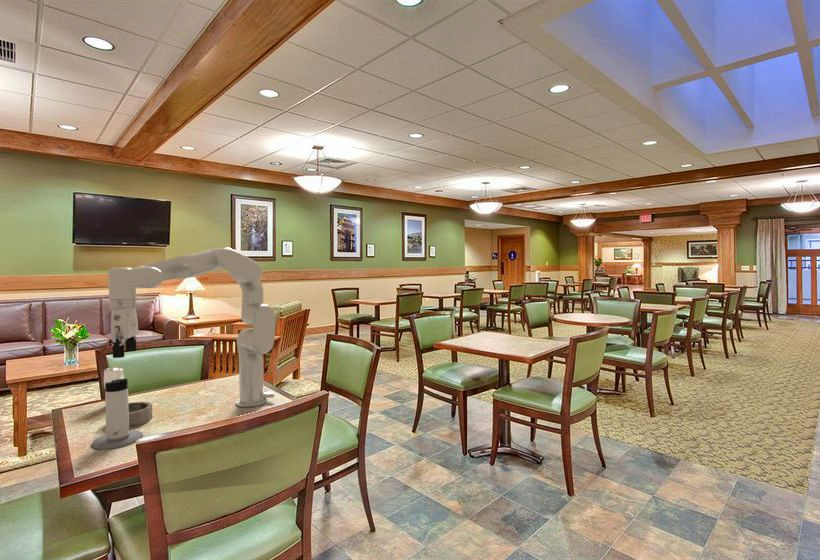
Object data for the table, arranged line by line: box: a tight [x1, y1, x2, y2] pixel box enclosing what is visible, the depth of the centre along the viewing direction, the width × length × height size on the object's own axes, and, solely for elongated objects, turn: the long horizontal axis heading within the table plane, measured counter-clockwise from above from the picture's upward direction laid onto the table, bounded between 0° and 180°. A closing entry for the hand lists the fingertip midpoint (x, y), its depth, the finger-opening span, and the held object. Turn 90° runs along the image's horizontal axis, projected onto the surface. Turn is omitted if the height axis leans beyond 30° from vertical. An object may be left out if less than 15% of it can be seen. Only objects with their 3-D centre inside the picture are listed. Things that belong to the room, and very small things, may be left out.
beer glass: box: [103, 366, 125, 390], centre depth 176 cm, size 7×7×15 cm
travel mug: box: [104, 378, 130, 442], centre depth 141 cm, size 6×7×20 cm
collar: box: [128, 401, 153, 428], centre depth 159 cm, size 13×13×5 cm
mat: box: [91, 429, 144, 450], centre depth 142 cm, size 14×14×1 cm
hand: (125, 354), depth 144 cm, fingers open, 9 cm apart
